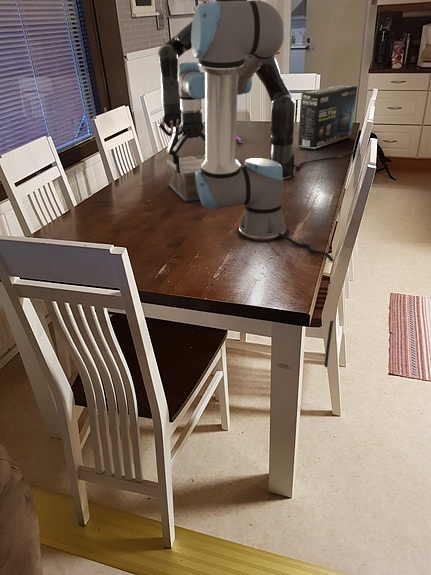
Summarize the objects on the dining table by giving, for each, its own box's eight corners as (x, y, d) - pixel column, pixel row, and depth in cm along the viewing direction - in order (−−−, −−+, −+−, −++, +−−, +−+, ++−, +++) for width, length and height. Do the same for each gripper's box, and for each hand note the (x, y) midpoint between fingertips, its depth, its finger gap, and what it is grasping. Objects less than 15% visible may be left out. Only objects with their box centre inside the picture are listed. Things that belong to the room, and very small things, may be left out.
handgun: (221, 137, 265) (221, 133, 264) (234, 135, 266) (234, 132, 265) (229, 145, 248) (229, 141, 247) (243, 143, 249) (243, 140, 248)
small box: (169, 186, 193) (166, 159, 187) (194, 182, 196) (192, 156, 191) (185, 202, 176) (183, 173, 170) (212, 197, 179) (211, 169, 174)
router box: (314, 151, 231) (318, 94, 217) (296, 148, 237) (299, 92, 224) (352, 138, 251) (358, 85, 238) (335, 135, 258) (340, 83, 245)
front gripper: (219, 105, 170) (221, 162, 181) (154, 112, 163) (160, 171, 174) (227, 108, 164) (228, 167, 175) (160, 116, 157) (166, 177, 168)
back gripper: (184, 98, 187) (187, 141, 196) (152, 101, 183) (157, 145, 192) (190, 100, 181) (192, 145, 190) (158, 104, 177) (162, 149, 186)
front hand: (194, 169), depth 175 cm, fingers open, 13 cm apart
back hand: (174, 145), depth 191 cm, fingers closed
